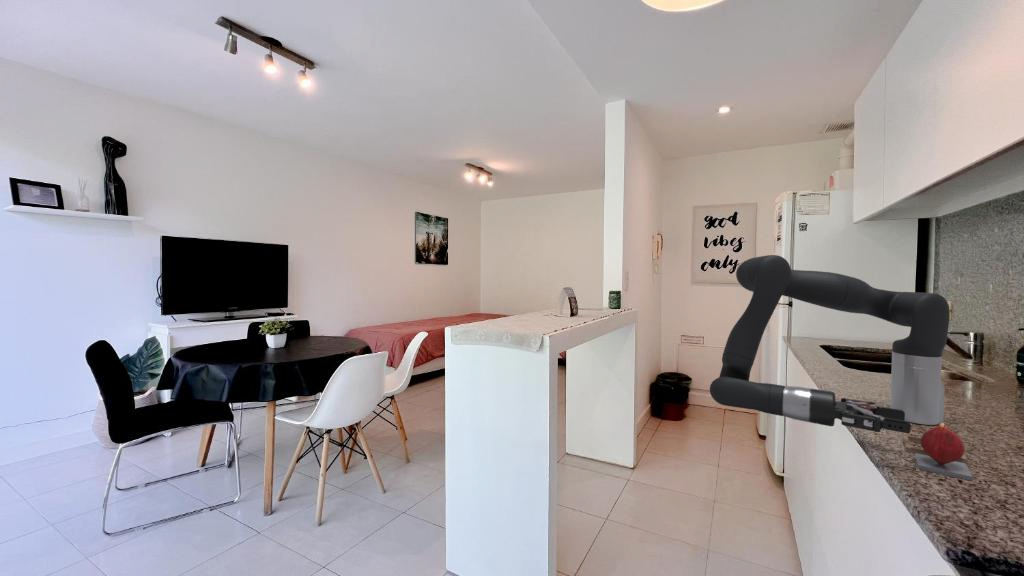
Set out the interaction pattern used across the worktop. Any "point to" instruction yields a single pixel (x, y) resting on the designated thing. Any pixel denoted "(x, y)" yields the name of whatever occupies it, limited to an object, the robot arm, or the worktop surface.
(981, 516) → the worktop surface
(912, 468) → the worktop surface
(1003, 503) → the worktop surface
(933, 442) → the onion
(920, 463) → the coaster
